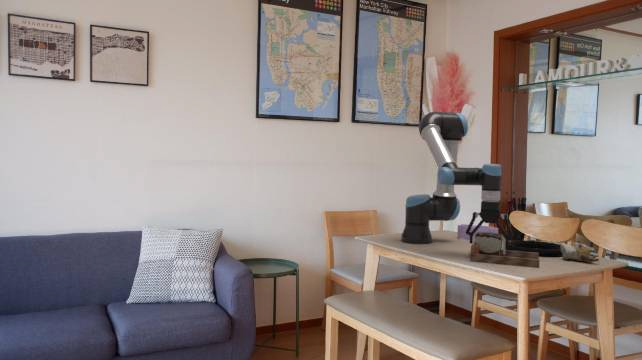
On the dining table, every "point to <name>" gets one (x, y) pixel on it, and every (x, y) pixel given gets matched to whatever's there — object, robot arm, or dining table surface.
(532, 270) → the dining table surface
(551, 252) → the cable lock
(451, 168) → the robot arm
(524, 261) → the brown wooden tray
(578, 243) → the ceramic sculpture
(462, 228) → the purple block
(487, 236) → the food container
